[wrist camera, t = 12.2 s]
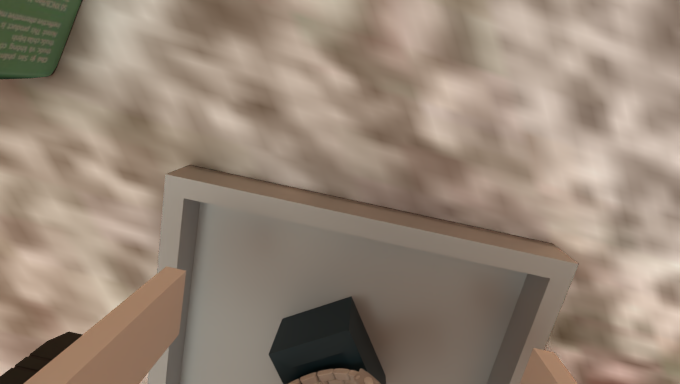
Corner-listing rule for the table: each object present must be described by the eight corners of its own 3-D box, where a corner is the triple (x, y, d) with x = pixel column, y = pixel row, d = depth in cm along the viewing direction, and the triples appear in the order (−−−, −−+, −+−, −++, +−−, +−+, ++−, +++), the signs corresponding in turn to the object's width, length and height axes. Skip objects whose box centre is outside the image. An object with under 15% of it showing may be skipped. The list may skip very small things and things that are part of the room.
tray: (458, 493, 24) (468, 536, 22) (163, 425, 25) (141, 460, 22) (552, 243, 20) (578, 264, 17) (189, 165, 20) (165, 174, 18)
